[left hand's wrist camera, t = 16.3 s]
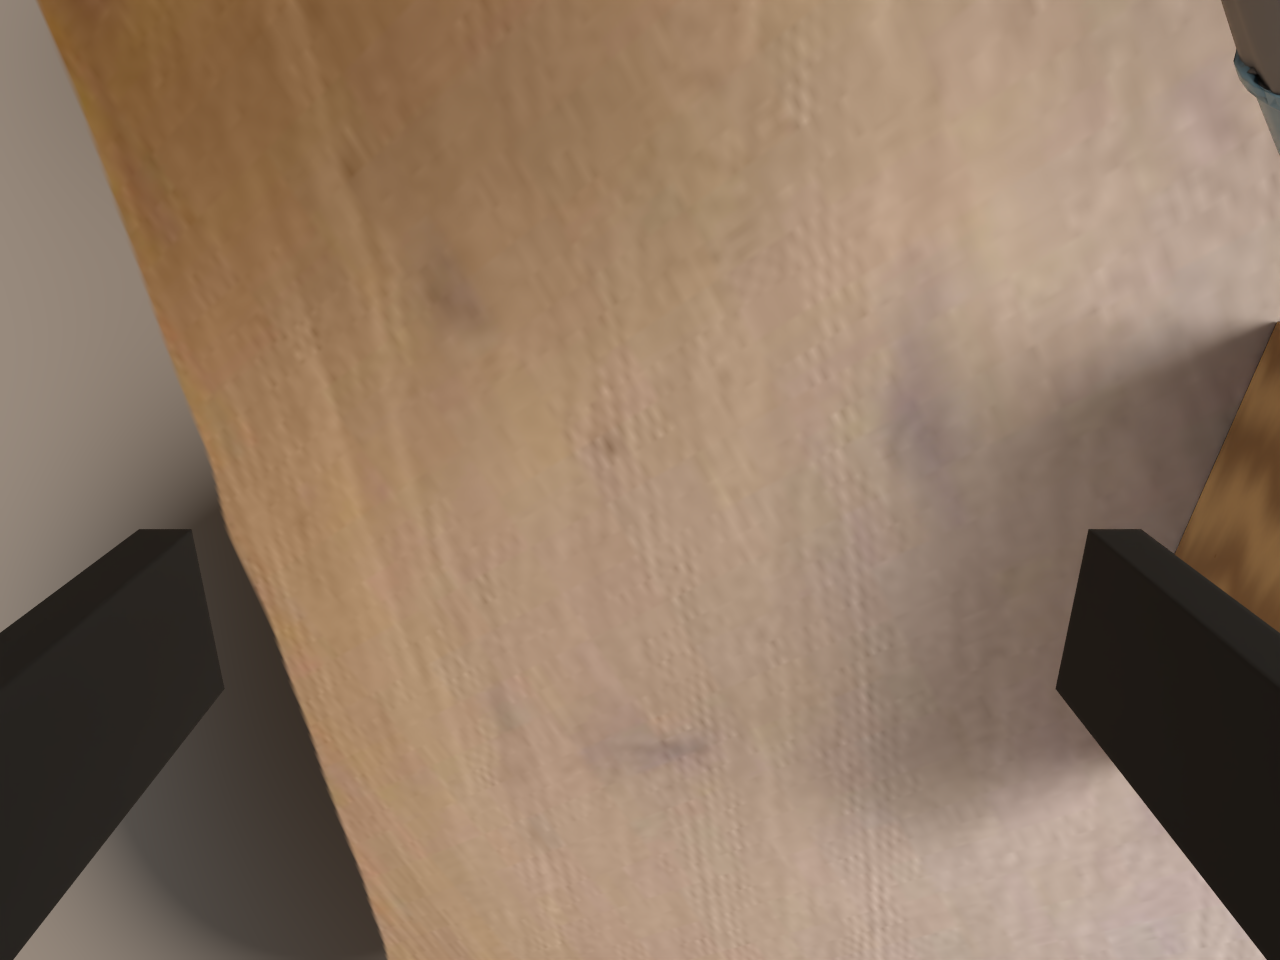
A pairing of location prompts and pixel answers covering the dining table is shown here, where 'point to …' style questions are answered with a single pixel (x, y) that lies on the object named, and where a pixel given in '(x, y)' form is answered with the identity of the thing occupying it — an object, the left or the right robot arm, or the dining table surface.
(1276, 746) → the left robot arm
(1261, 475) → the bar
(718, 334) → the dining table surface
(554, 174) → the dining table surface
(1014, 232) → the dining table surface
